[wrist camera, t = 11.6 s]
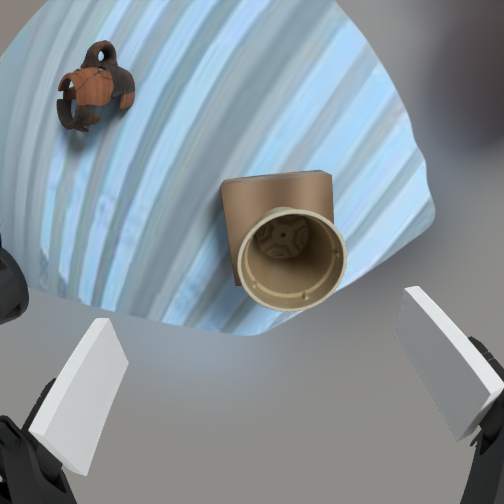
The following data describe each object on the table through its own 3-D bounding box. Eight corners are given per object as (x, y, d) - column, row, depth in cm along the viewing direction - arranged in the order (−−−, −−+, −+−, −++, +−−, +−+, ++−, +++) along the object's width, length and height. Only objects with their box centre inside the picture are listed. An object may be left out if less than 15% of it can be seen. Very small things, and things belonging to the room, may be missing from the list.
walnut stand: (237, 268, 39) (235, 286, 34) (224, 179, 34) (220, 186, 30) (324, 258, 38) (334, 274, 34) (320, 170, 34) (331, 174, 29)
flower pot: (230, 202, 30) (223, 225, 22) (315, 182, 30) (340, 199, 22) (250, 278, 34) (251, 321, 26) (328, 260, 33) (351, 298, 25)
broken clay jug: (135, 128, 32) (81, 142, 26) (98, 118, 35) (51, 130, 28) (148, 39, 25) (90, 38, 19) (107, 42, 28) (57, 45, 21)
